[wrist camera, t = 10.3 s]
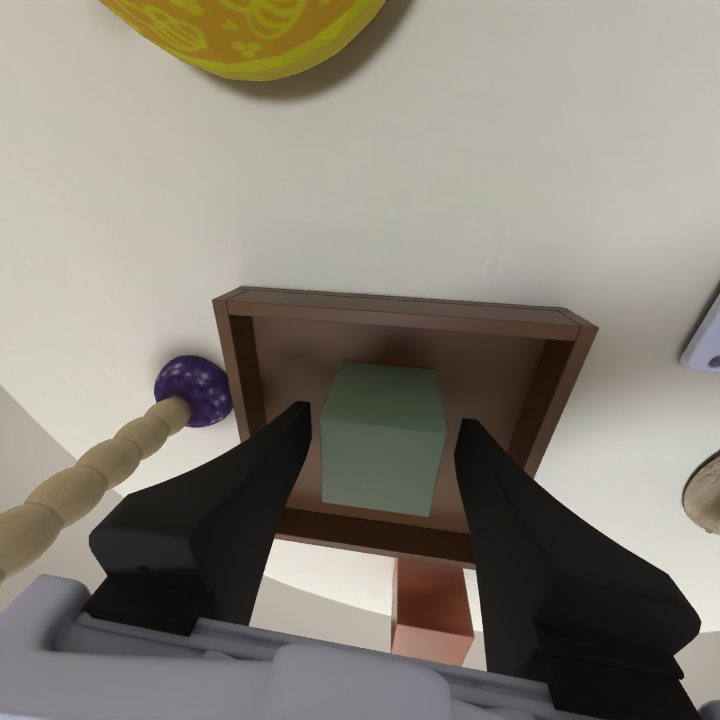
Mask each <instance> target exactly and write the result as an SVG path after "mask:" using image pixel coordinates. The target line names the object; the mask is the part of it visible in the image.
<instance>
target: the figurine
mask: <svg viewBox="0 0 720 720" xmlns="http://www.w3.org/2000/svg"><path fill="white" fill-rule="evenodd" d="M692 497H693V498H692ZM684 508H685V511H686V513H687V515H688V516H689V518H690V519H691V520H692V521H693V522H694V523H696V524H697V525H698V526H700V527H702V528H704V529H706V530H705V531H706V532H708V531H710V532H708V533H715V534H717V535H720V456H718V457H717V458H716V459H714V460H713V461H711V462H709V463H708V464H707V466H705V467H703V468H702V469H701V470H700V471H699V472H698V473H697V474H696V476H695V477H694V478H693V479H692V480H691V481H690V483H689V485H688V487H687V489H686V492H685V495H684Z"/></svg>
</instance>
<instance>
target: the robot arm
mask: <svg viewBox="0 0 720 720" xmlns="http://www.w3.org/2000/svg"><path fill="white" fill-rule="evenodd" d="M714 357H715V358H714ZM712 358H714V359H713V360H712V361H710V360H711V359H712ZM709 361H710V362H709ZM681 364H682V365H683V366H685V367H687V368H688V369H690V370H694V371H703V372H715V373H720V293H719V295H718V297H717V298H716V300H715V302H714V303H713V305H712V307H711V308H710V310H709V312H708V313H707V315H706V317H705V318H704V320H703V322H702V323H701V325H700V327H699V328H698V330H697V332H696V333H695V335H694V337H693V338H692V340H691V342H690V343H689V345H688V347H687V348H686V350H685V351H684V353H683V355H682V357H681ZM311 440H312V423H311V405H310V402H307V401H296V402H295V403H293V404H292V405H291V406H290V407H288V408H287V409H286V410H285V411H283V412H282V413H281V414H280V415H279V416H277V417H276V418H275V419H274V420H272V421H271V422H270V423H269V424H267V425H266V426H265V427H264V428H262V429H261V430H259V431H258V432H257V433H255V434H254V435H252V436H251V437H250V438H248V439H247V440H245V441H244V442H242V443H241V444H239V445H238V446H236V447H234V448H233V449H231V450H229V451H228V452H226V453H224V454H222V455H221V456H219V457H217V458H215V459H213V460H211V461H209V462H207V463H205V464H203V465H201V466H199V467H197V468H195V469H193V470H191V471H188V472H186V473H184V474H181V475H179V476H177V477H174V478H172V479H170V480H167V481H164V482H162V483H159V484H156V485H154V486H151V487H148V488H145V489H142V490H140V491H137V492H134V493H131V494H128V495H127V496H126V497H125V498H124V499H123V500H122V501H121V502H120V503H119V504H118V505H117V506H116V507H115V508H114V509H113V510H112V511H111V512H110V513H109V514H108V515H107V516H106V517H105V518H104V520H102V522H101V523H100V524H99V525H98V526H97V527H96V528H95V529H94V530H93V531H92V532H91V534H90V535H89V547H90V548H91V551H92V553H93V554H94V556H95V557H96V559H97V560H98V562H99V563H100V565H101V567H102V568H103V570H104V571H105V572H106V574H107V578H106V579H105V580H104V581H103V583H102V584H101V585H100V586H99V587H98V589H97V590H96V591H95V592H94V594H93V595H91V592H90V590H89V589H88V588H87V587H86V586H85V585H84V584H83V583H81V582H79V581H77V580H73V579H69V578H63V577H58V576H52V575H47V574H42V575H39V576H38V577H37V578H36V579H35V580H34V581H33V582H32V583H31V584H30V585H29V586H28V587H27V588H26V589H25V590H24V591H23V592H22V593H21V594H20V595H19V596H18V597H17V598H16V599H15V600H14V601H13V602H12V603H11V604H10V605H9V606H8V607H7V608H6V609H5V610H4V611H3V612H2V613H1V614H0V720H720V700H715V701H709V702H706V703H704V704H703V705H701V707H699V708H698V710H696V708H695V707H694V705H693V703H692V702H691V700H690V698H689V696H688V695H687V693H686V692H685V690H684V688H683V686H682V685H681V683H680V681H679V680H678V679H680V680H682V679H683V678H684V673H683V671H682V670H681V668H680V666H679V665H678V663H677V662H676V660H675V658H674V655H675V654H676V653H677V652H679V651H680V650H681V649H682V648H683V647H685V646H686V645H687V644H688V643H690V642H691V641H692V640H693V639H694V638H695V637H696V636H697V635H698V634H699V631H700V626H701V620H700V618H699V616H698V614H697V612H696V611H695V610H694V608H693V607H692V606H691V604H690V603H689V602H688V600H687V599H686V597H685V596H684V595H683V593H682V592H681V591H680V589H679V588H678V587H677V585H676V584H675V583H674V581H673V580H672V579H671V577H670V576H669V575H668V574H667V573H665V572H664V571H662V570H660V569H659V568H657V567H655V566H654V565H652V564H650V563H649V562H647V561H645V560H644V559H642V558H640V557H639V556H637V555H635V554H634V553H632V552H630V551H629V550H627V549H625V548H624V547H622V546H621V545H619V544H618V543H616V542H615V541H613V540H612V539H610V538H609V537H607V536H606V535H604V534H603V533H601V532H600V531H598V530H597V529H595V528H594V527H592V526H591V525H590V524H588V523H587V522H585V521H584V520H583V519H581V518H580V517H579V516H577V515H576V514H575V513H573V512H572V511H571V510H569V509H568V508H567V507H565V506H564V505H563V504H562V503H560V502H559V501H558V500H557V499H555V498H554V497H553V496H552V495H551V494H549V493H548V492H547V491H546V490H545V489H544V488H542V487H541V486H540V485H539V484H538V483H537V482H536V481H534V480H533V479H532V478H531V477H530V476H529V475H528V474H527V473H526V472H525V471H524V470H523V469H522V468H521V467H520V466H519V465H518V464H517V463H516V462H515V461H514V460H513V459H512V458H511V457H510V456H509V455H508V454H507V453H506V452H505V450H504V449H503V448H502V447H501V446H500V445H499V444H498V443H497V442H496V440H495V439H494V438H493V437H492V436H491V435H490V433H489V432H488V431H487V430H486V429H485V428H484V426H483V425H482V424H481V423H480V422H479V421H478V420H477V419H467V418H462V422H461V426H460V430H459V434H458V438H457V442H456V447H455V451H454V463H455V471H456V478H457V483H458V487H459V491H460V495H461V499H462V503H463V507H464V511H465V515H466V519H467V523H468V527H469V531H470V536H471V541H472V547H473V554H474V561H475V568H476V575H477V583H478V590H479V598H480V607H481V616H482V624H483V633H484V644H485V654H486V665H487V672H485V671H480V670H475V669H470V668H464V667H459V666H454V665H449V664H443V663H438V662H433V661H428V660H422V659H417V658H412V657H407V656H401V655H396V654H391V653H385V652H380V651H375V650H370V649H365V648H359V647H354V646H349V645H343V644H338V643H333V642H328V641H322V640H317V639H312V638H307V637H301V636H296V635H291V634H285V633H280V632H275V631H270V630H265V629H259V628H254V627H249V623H250V619H251V615H252V612H253V608H254V604H255V600H256V597H257V593H258V590H259V587H260V583H261V580H262V576H263V573H264V569H265V566H266V563H267V559H268V556H269V553H270V550H271V547H272V543H273V540H274V537H275V534H276V531H277V528H278V525H279V522H280V519H281V516H282V513H283V511H284V508H285V505H286V503H287V501H288V499H289V496H290V494H291V492H292V489H293V487H294V485H295V483H296V480H297V478H298V476H299V474H300V471H301V469H302V467H303V464H304V462H305V460H306V457H307V454H308V451H309V447H310V444H311Z"/></svg>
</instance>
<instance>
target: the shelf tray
mask: <svg viewBox="0 0 720 720" xmlns="http://www.w3.org/2000/svg"><path fill="white" fill-rule="evenodd" d="M212 303H213V308H214V313H215V317H216V322H217V327H218V332H219V337H220V342H221V347H222V352H223V357H224V362H225V367H226V372H227V377H228V382H229V387H230V392H231V397H232V401H233V406H234V411H235V416H236V421H237V426H238V431H239V436H240V441H241V443H242V442H244V441H245V440H247V439H248V438H250V437H251V436H252V435H254V434H255V433H257V432H258V431H259V430H261V429H262V428H264V427H265V426H266V425H267V424H269V423H270V422H271V421H272V420H274V419H275V418H276V417H277V416H279V415H280V414H281V413H282V412H283V411H285V410H286V409H287V408H288V407H290V406H291V405H292V404H293V403H295V402H296V401H307V402H310V405H311V423H312V440H311V444H310V447H309V451H308V454H307V457H306V460H305V462H304V464H303V467H302V469H301V471H300V474H299V476H298V478H297V480H296V483H295V485H294V487H293V489H292V492H291V494H290V496H289V499H288V501H287V503H286V505H285V508H284V511H283V513H282V516H281V519H280V522H279V525H278V528H277V531H276V534H275V537H274V539H280V540H286V541H293V542H299V543H305V544H312V545H318V546H325V547H331V548H337V549H344V550H350V551H357V552H363V553H370V554H376V555H382V556H389V557H395V558H402V559H408V560H414V561H421V562H427V563H434V564H440V565H446V566H453V567H459V568H466V569H472V570H476V568H475V561H474V554H473V547H472V541H471V536H470V531H469V527H468V523H467V519H466V515H465V511H464V507H463V503H462V499H461V495H460V491H459V487H458V483H457V478H456V471H455V463H454V451H455V447H456V442H457V438H458V434H459V430H460V426H461V422H462V418H467V419H477V420H478V421H479V422H480V423H481V424H482V425H483V426H484V428H485V429H486V430H487V431H488V432H489V433H490V435H491V436H492V437H493V438H494V439H495V440H496V442H497V443H498V444H499V445H500V446H501V447H502V448H503V449H504V450H505V452H506V453H507V454H508V455H509V456H510V457H511V458H512V459H513V460H514V461H515V462H516V463H517V464H518V465H519V466H520V467H521V468H522V469H523V470H524V471H525V472H526V473H527V474H528V475H529V476H530V477H531V478H532V479H534V477H535V474H536V472H537V470H538V467H539V465H540V463H541V460H542V458H543V456H544V454H545V451H546V449H547V447H548V444H549V442H550V440H551V437H552V435H553V433H554V431H555V428H556V426H557V424H558V421H559V419H560V417H561V415H562V412H563V410H564V408H565V405H566V403H567V401H568V398H569V396H570V394H571V392H572V389H573V387H574V385H575V382H576V380H577V378H578V375H579V373H580V371H581V369H582V366H583V364H584V362H585V359H586V357H587V355H588V353H589V350H590V348H591V346H592V343H593V341H594V339H595V336H596V334H597V332H598V330H599V327H597V326H595V325H594V324H592V323H590V322H589V321H587V320H585V319H583V318H582V317H580V316H578V315H576V314H575V313H573V312H572V311H570V310H568V309H566V308H554V307H539V306H524V305H509V304H494V303H479V302H463V301H448V300H433V299H418V298H403V297H388V296H373V295H358V294H343V293H328V292H313V291H298V290H283V289H268V288H253V287H239V288H237V289H235V290H232V291H230V292H228V293H226V294H224V295H221V296H219V297H217V298H215V299H213V300H212ZM343 361H346V362H357V363H368V364H378V365H389V366H400V367H411V368H422V369H433V370H435V373H436V378H437V383H438V387H439V392H440V397H441V402H442V407H443V411H444V416H445V421H446V426H447V431H448V435H447V439H446V444H445V448H444V453H443V457H442V462H441V466H440V471H439V475H438V479H437V484H436V488H435V493H434V497H433V502H432V506H431V511H430V515H429V517H425V516H418V515H411V514H404V513H397V512H390V511H383V510H376V509H368V508H361V507H354V506H347V505H340V504H333V503H326V502H323V501H322V488H321V461H320V434H319V417H320V414H321V412H322V409H323V407H324V405H325V402H326V400H327V397H328V395H329V392H330V390H331V387H332V385H333V382H334V380H335V378H336V375H337V373H338V370H339V368H340V365H341V363H342V362H343Z"/></svg>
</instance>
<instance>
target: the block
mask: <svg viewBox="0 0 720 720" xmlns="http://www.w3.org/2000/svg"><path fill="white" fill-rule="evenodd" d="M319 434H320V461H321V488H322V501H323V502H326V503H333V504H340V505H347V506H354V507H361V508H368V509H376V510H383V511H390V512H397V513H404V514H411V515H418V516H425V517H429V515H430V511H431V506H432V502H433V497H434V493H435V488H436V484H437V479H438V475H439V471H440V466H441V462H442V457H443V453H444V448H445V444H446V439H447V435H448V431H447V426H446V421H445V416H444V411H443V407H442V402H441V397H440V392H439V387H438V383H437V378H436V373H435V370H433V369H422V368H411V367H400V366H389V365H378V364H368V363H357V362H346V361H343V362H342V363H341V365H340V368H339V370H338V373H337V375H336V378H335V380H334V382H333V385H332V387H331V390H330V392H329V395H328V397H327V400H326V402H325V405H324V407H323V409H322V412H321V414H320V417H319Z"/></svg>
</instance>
